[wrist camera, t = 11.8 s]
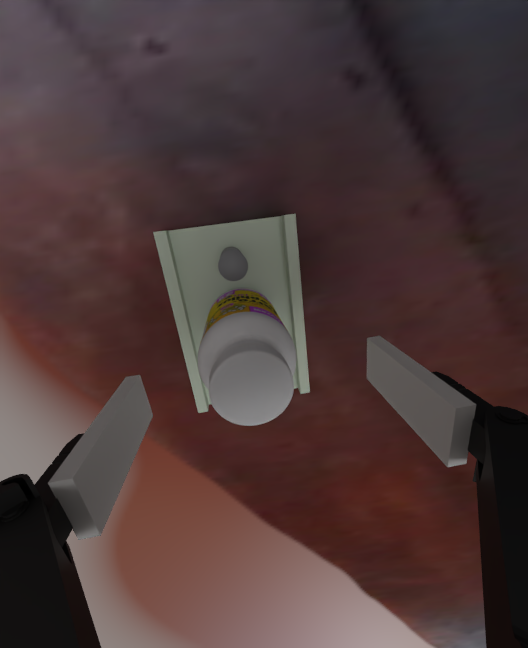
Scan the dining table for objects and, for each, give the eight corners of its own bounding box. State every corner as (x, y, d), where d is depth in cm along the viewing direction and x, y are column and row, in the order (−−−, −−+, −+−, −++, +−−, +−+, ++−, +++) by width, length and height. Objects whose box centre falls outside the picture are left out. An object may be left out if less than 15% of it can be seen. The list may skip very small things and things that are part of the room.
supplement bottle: (280, 291, 26) (325, 340, 14) (269, 352, 28) (300, 442, 16) (210, 281, 25) (194, 327, 13) (204, 346, 27) (185, 438, 15)
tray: (160, 232, 24) (128, 231, 16) (288, 215, 25) (316, 207, 17) (200, 398, 30) (191, 456, 22) (303, 379, 31) (329, 428, 23)
